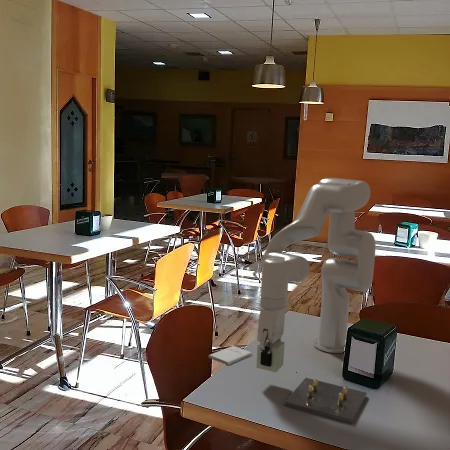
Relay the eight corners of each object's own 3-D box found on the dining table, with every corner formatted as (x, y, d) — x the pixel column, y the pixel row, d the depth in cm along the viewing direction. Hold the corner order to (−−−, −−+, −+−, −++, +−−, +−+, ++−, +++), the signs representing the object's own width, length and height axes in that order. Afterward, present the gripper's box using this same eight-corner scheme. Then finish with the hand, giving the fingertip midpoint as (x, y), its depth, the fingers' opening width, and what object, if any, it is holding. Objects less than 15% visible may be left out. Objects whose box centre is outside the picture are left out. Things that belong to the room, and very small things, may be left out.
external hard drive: (208, 359, 174) (232, 349, 183) (227, 367, 169) (251, 356, 178) (208, 354, 173) (232, 345, 183) (228, 362, 168) (252, 351, 178)
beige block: (264, 360, 160) (265, 338, 159) (283, 364, 158) (284, 342, 157) (256, 367, 155) (257, 344, 154) (275, 372, 152) (277, 349, 151)
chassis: (305, 381, 160) (306, 368, 159) (366, 396, 152) (367, 382, 151) (284, 405, 144) (285, 390, 143) (351, 424, 136) (353, 408, 135)
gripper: (272, 292, 162) (269, 348, 165) (249, 307, 147) (246, 369, 150) (296, 296, 159) (292, 353, 162) (275, 312, 144) (271, 375, 147)
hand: (270, 360), depth 156 cm, fingers closed on beige block, 6 cm apart
